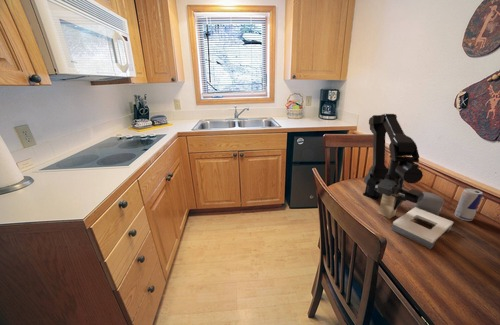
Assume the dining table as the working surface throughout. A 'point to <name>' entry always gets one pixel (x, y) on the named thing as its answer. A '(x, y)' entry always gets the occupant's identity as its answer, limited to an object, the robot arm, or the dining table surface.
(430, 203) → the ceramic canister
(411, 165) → the robot arm
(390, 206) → the wood peg
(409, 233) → the hole board
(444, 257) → the dining table surface
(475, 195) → the energy drink
